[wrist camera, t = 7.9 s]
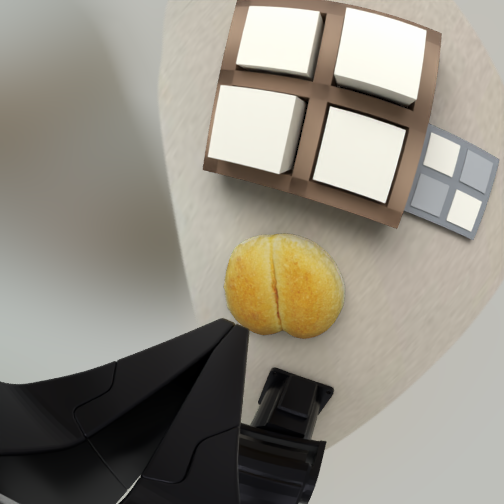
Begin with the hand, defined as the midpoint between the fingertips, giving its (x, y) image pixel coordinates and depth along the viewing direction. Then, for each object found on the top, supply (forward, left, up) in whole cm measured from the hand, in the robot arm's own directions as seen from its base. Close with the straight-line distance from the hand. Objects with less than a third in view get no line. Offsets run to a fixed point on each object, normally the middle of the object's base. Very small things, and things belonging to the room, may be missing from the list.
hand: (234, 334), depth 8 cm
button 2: (+11, -2, -11) cm, 16 cm away
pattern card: (+5, -9, -13) cm, 17 cm away
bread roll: (-6, +1, -14) cm, 15 cm away
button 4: (+11, +4, -13) cm, 17 cm away
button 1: (+5, -2, -13) cm, 14 cm away
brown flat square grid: (+8, +1, -13) cm, 15 cm away
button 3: (+5, +4, -12) cm, 13 cm away
